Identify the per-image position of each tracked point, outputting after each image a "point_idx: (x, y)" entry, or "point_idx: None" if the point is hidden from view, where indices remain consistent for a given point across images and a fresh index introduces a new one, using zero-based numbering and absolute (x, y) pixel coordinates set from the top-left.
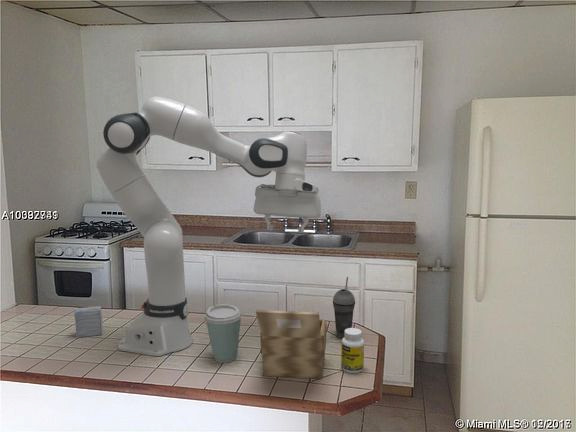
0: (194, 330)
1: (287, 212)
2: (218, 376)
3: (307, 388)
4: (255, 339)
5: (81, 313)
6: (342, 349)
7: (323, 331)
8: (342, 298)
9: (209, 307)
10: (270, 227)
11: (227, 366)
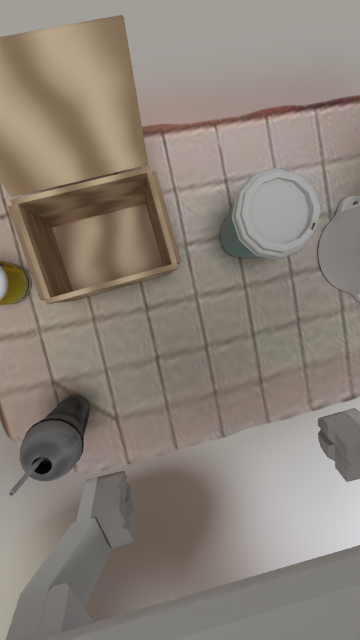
0: (343, 317)
1: (269, 625)
2: (215, 171)
3: (58, 186)
4: (224, 327)
5: None
6: (6, 267)
7: (19, 230)
8: (42, 432)
9: (319, 211)
10: (340, 423)
11: (219, 209)
